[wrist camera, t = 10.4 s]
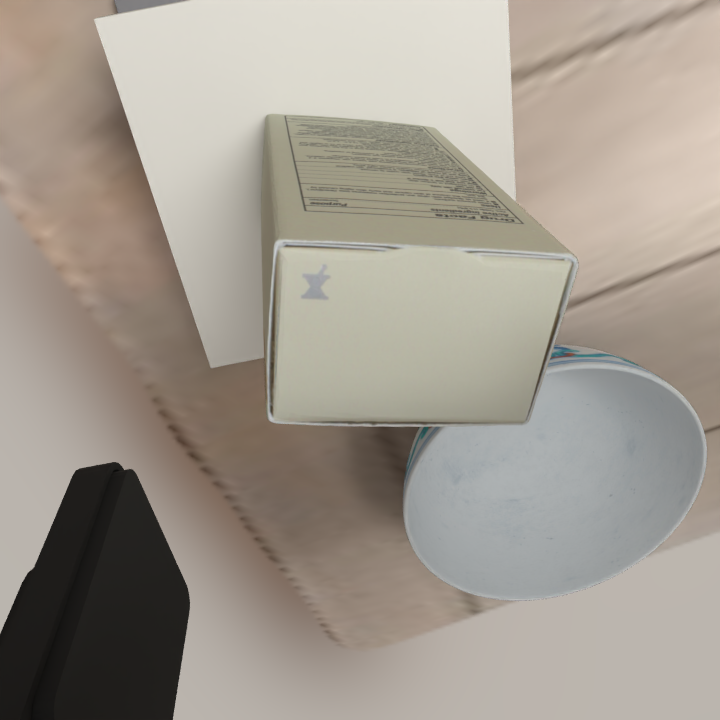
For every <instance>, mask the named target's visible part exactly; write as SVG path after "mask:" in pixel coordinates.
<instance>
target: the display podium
mask: <svg viewBox="0 0 720 720" xmlns="http://www.w3.org/2000/svg"><path fill="white" fill-rule="evenodd" d="M114 1H115V4H116V7H117V11H118V14H113V15H108V16H102V17H99V18H96V19H94V21H95V24H96V27H97V30H98V33H99V36H100V39H101V42H102V45H103V48H104V51H105V54H106V57H107V60H108V63H109V66H110V69H111V72H112V75H113V78H114V81H115V84H116V87H117V90H118V92H119V95H120V98H121V101H122V104H123V107H124V110H125V113H126V116H127V119H128V122H129V125H130V128H131V131H132V134H133V137H134V140H135V143H136V146H137V149H138V152H139V155H140V158H141V161H142V164H143V167H144V170H145V173H146V176H147V179H148V182H149V185H150V188H151V191H152V194H153V197H154V200H155V203H156V206H157V209H158V212H159V215H160V218H161V221H162V224H163V227H164V230H165V233H166V236H167V239H168V242H169V245H170V248H171V251H172V254H173V257H174V260H175V263H176V266H177V269H178V272H179V275H180V278H181V281H182V284H183V287H184V290H185V293H186V296H187V299H188V302H189V304H190V307H191V310H192V313H193V316H194V319H195V322H196V325H197V328H198V331H199V334H200V337H201V340H202V343H203V346H204V349H205V352H206V355H207V358H208V361H209V364H210V367H211V368H215V367H220V366H225V365H230V364H235V363H240V362H245V361H250V360H255V359H260V358H264V339H263V292H262V246H261V181H262V159H263V143H264V129H265V118H266V116H267V115H268V114H283V115H306V116H323V117H337V118H349V119H362V120H374V121H384V122H394V123H403V124H412V125H420V126H428V127H434V128H436V129H437V130H438V131H439V132H440V133H441V134H442V135H443V136H444V137H446V138H447V139H448V140H449V141H450V142H451V143H452V144H453V145H454V146H455V147H456V148H458V149H459V150H460V151H461V152H462V153H463V154H464V155H465V156H466V157H467V158H468V159H470V160H471V161H472V162H473V163H474V164H475V165H476V166H477V167H478V168H479V169H481V170H482V171H483V172H484V173H485V174H486V175H487V176H488V177H489V178H490V179H491V180H493V181H494V182H495V183H496V184H497V185H498V186H499V187H500V188H501V189H502V190H503V191H504V192H506V193H507V194H508V195H509V196H510V197H511V198H512V199H513V200H514V201H515V202H516V190H515V165H514V140H513V115H512V91H511V66H510V41H509V16H508V0H114Z"/></svg>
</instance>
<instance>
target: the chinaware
mask: <svg viewBox="0 0 720 720" xmlns="http://www.w3.org/2000/svg"><path fill="white" fill-rule="evenodd" d="M706 462H707V445H706V438H705V433H704V430H703V427H702V424H701V421H700V419H699V417H698V415H697V414H696V412H695V410H694V409H693V407H692V406H691V404H690V403H689V402H688V401H687V400H686V398H685V397H684V396H683V395H682V394H681V393H680V392H679V391H677V390H676V389H675V388H674V387H673V386H671V385H670V384H669V383H667V382H666V381H664V380H663V379H661V378H660V377H658V376H657V375H655V374H653V373H652V372H650V371H648V370H646V369H645V368H643V367H641V366H639V365H637V364H635V363H633V362H631V361H629V360H626V359H624V358H621V357H619V356H616V355H613V354H610V353H607V352H604V351H600V350H596V349H592V348H587V347H582V346H574V345H561V344H555V345H554V349H553V351H552V355H551V358H550V361H549V364H548V367H547V369H546V372H545V375H544V378H543V382H542V385H541V387H540V390H539V393H538V396H537V398H536V401H535V405H534V408H533V411H532V415H531V418H530V420H529V422H528V423H527V424H525V425H496V426H463V427H451V426H445V427H419V429H418V432H417V434H416V436H415V439H414V441H413V444H412V447H411V450H410V454H409V458H408V462H407V466H406V472H405V479H404V488H403V518H404V525H405V530H406V533H407V537H408V539H409V542H410V544H411V547H412V548H413V550H414V552H415V554H416V555H417V557H418V558H419V560H420V561H421V562H422V563H423V564H424V566H425V567H426V568H427V569H428V570H429V571H430V572H432V573H433V574H434V575H435V576H436V577H438V578H439V579H441V580H442V581H444V582H445V583H447V584H449V585H451V586H452V587H454V588H457V589H459V590H461V591H464V592H467V593H469V594H473V595H476V596H480V597H485V598H490V599H497V600H508V601H527V600H539V599H547V598H553V597H558V596H563V595H567V594H571V593H574V592H578V591H580V590H584V589H586V588H589V587H592V586H595V585H597V584H600V583H602V582H604V581H606V580H609V579H611V578H612V577H615V576H616V575H618V574H620V573H622V572H624V571H626V570H627V569H628V568H630V567H632V566H634V565H635V564H637V563H638V562H640V561H641V560H642V559H644V558H645V557H646V556H648V555H649V554H650V553H652V552H653V551H654V550H655V549H656V548H657V547H659V546H660V545H661V544H662V543H663V542H664V541H665V540H666V539H667V538H668V537H669V536H670V535H671V534H672V533H673V532H674V530H675V529H676V528H677V527H678V526H679V524H680V523H681V522H682V520H683V519H684V518H685V516H686V515H687V513H688V512H689V510H690V508H691V507H692V505H693V503H694V501H695V499H696V497H697V495H698V493H699V490H700V488H701V485H702V482H703V478H704V474H705V469H706Z"/></svg>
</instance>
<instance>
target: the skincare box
mask: <svg viewBox="0 0 720 720" xmlns="http://www.w3.org/2000/svg"><path fill="white" fill-rule="evenodd" d="M261 246H262V292H263V339H264V368H265V398H266V415H267V418H268V420H269V421H271V422H272V423H278V424H296V425H319V426H350V427H445V426H451V427H463V426H496V425H525V424H527V423H528V422H529V420H530V418H531V415H532V411H533V408H534V405H535V401H536V398H537V396H538V393H539V390H540V387H541V385H542V382H543V378H544V375H545V372H546V369H547V367H548V364H549V361H550V358H551V355H552V351H553V349H554V345H555V341H556V338H557V335H558V332H559V329H560V326H561V323H562V320H563V317H564V314H565V311H566V307H567V304H568V301H569V297H570V294H571V291H572V287H573V284H574V281H575V278H576V274H577V271H578V267H579V264H578V259H577V258H576V257H575V256H574V255H573V254H572V253H571V252H570V251H569V250H568V249H567V248H566V247H565V246H564V245H562V244H561V243H560V242H559V241H558V240H557V239H556V238H555V237H554V236H552V235H551V234H550V233H549V232H548V231H547V230H546V229H545V228H544V227H542V226H541V225H540V224H539V223H538V222H537V221H536V220H535V219H534V218H533V217H531V216H530V215H529V214H528V213H527V212H526V211H525V210H524V209H523V208H522V207H521V206H519V205H518V204H517V203H516V202H515V201H514V200H513V199H512V198H511V197H510V196H509V195H508V194H507V193H506V192H504V191H503V190H502V189H501V188H500V187H499V186H498V185H497V184H496V183H495V182H494V181H493V180H491V179H490V178H489V177H488V176H487V175H486V174H485V173H484V172H483V171H482V170H481V169H479V168H478V167H477V166H476V165H475V164H474V163H473V162H472V161H471V160H470V159H468V158H467V157H466V156H465V155H464V154H463V153H462V152H461V151H460V150H459V149H458V148H456V147H455V146H454V145H453V144H452V143H451V142H450V141H449V140H448V139H447V138H446V137H444V136H443V135H442V134H441V133H440V132H439V131H438V130H437V129H436V128H434V127H428V126H420V125H412V124H403V123H394V122H384V121H374V120H362V119H349V118H337V117H323V116H306V115H283V114H268V115H267V116H266V118H265V129H264V143H263V159H262V181H261Z"/></svg>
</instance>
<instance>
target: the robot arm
mask: <svg viewBox="0 0 720 720" xmlns="http://www.w3.org/2000/svg"><path fill="white" fill-rule="evenodd" d="M189 610H190V599H189V592H188V588H187V585H186V583H185V580H184V578H183V576H182V574H181V572H180V569H179V567H178V565H177V563H176V561H175V559H174V556H173V554H172V552H171V550H170V547H169V545H168V543H167V541H166V538H165V536H164V534H163V532H162V530H161V528H160V525H159V523H158V521H157V519H156V516H155V514H154V512H153V510H152V508H151V505H150V503H149V501H148V499H147V497H146V494H145V492H144V490H143V488H142V485H141V483H140V481H139V479H138V477H137V475H136V473H135V472H134V471H133V470H132V469H129V470H124V469H123V468H122V466H121V465H120V464H119V463H116V462H112V463H107V464H102V465H96V466H91V467H86V468H81V469H78V470H76V471H75V473H74V474H73V476H72V479H71V481H70V483H69V486H68V488H67V491H66V493H65V495H64V498H63V500H62V502H61V505H60V507H59V510H58V512H57V514H56V517H55V519H54V522H53V524H52V526H51V529H50V531H49V533H48V536H47V538H46V541H45V543H44V546H43V548H42V550H41V552H40V555H39V557H38V560H37V562H36V564H35V567H34V568H33V569H32V570H31V571H30V572H29V573H28V574H27V576H26V577H25V579H24V581H23V582H22V585H21V587H20V589H19V592H18V594H17V596H16V599H15V601H14V604H13V606H12V608H11V610H10V613H9V615H8V618H7V620H6V622H5V624H4V627H3V629H2V631H1V634H0V720H173V713H174V708H175V700H176V694H177V687H178V681H179V675H180V669H181V662H182V655H183V649H184V643H185V636H186V630H187V623H188V617H189Z"/></svg>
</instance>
